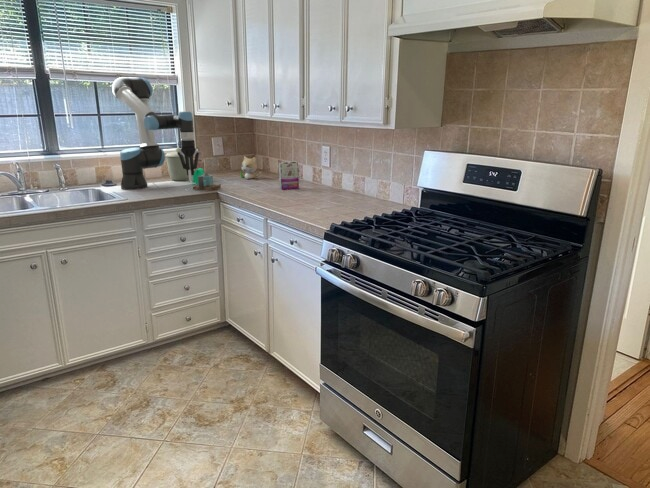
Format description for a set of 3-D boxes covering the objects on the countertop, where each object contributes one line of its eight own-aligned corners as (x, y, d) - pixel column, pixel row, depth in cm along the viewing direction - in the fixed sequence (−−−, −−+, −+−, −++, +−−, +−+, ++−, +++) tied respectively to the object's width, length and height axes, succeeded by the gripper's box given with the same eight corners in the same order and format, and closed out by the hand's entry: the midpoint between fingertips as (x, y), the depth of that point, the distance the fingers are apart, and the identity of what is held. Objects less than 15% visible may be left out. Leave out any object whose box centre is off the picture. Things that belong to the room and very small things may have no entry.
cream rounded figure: (235, 178, 328) (234, 156, 323) (245, 176, 336) (245, 154, 331) (252, 180, 320) (251, 158, 315) (262, 178, 328) (261, 156, 323)
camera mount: (214, 184, 308) (213, 168, 305) (205, 186, 302) (204, 169, 299) (199, 182, 314) (198, 166, 310) (191, 184, 307) (190, 168, 304)
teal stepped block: (195, 188, 281) (194, 176, 279) (203, 183, 295) (202, 173, 293) (205, 188, 281) (204, 177, 279) (213, 183, 294) (212, 173, 292)
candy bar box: (296, 187, 298) (296, 160, 293) (299, 188, 294) (298, 161, 289) (278, 188, 294) (278, 161, 289) (281, 190, 290) (280, 162, 285)
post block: (192, 190, 288) (191, 173, 285) (198, 187, 298) (197, 170, 295) (215, 190, 287) (214, 173, 284) (220, 187, 296) (219, 171, 293)
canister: (177, 176, 333) (174, 145, 327) (200, 178, 328) (197, 146, 322) (161, 181, 317) (157, 148, 311) (184, 182, 312) (182, 149, 305)
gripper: (173, 140, 271) (177, 181, 278) (196, 140, 270) (199, 182, 277) (179, 139, 279) (182, 179, 286) (200, 139, 277) (204, 179, 284)
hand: (191, 180), depth 281 cm, fingers closed
